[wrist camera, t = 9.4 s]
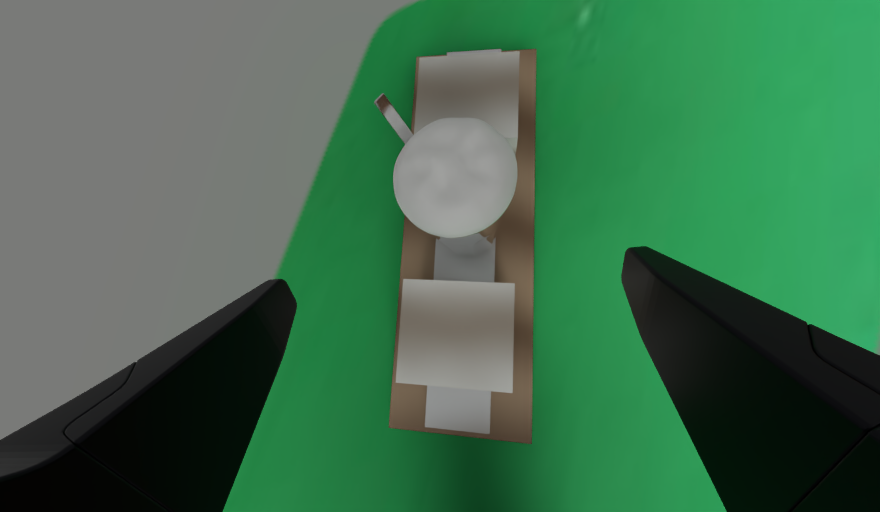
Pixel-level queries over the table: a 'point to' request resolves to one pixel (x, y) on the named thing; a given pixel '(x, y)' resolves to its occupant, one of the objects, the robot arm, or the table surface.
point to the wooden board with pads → (471, 270)
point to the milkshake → (453, 179)
